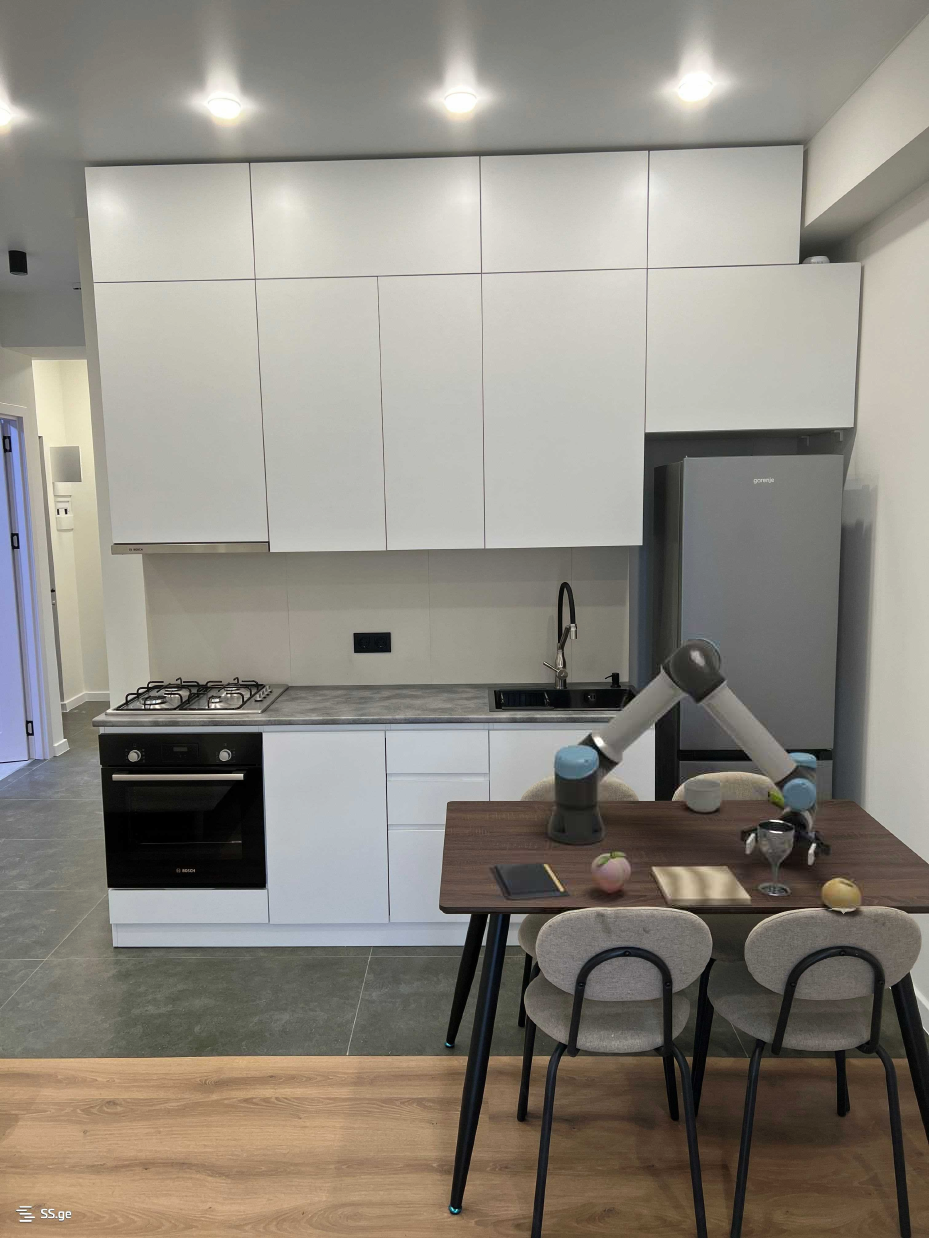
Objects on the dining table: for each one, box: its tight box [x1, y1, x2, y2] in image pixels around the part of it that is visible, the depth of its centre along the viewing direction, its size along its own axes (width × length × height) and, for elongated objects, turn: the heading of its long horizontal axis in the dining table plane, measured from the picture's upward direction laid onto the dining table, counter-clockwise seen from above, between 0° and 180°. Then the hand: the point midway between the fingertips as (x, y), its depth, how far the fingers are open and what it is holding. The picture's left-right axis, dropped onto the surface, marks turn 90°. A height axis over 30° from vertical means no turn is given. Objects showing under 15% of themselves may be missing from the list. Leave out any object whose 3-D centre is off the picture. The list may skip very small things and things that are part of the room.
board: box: [651, 865, 752, 907], centre depth 200 cm, size 18×18×2 cm
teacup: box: [683, 776, 723, 813], centre depth 256 cm, size 14×11×8 cm
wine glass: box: [757, 819, 795, 897], centre depth 198 cm, size 8×8×15 cm
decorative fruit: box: [590, 850, 632, 894], centre depth 198 cm, size 9×8×10 cm
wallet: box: [489, 861, 570, 902], centre depth 205 cm, size 20×2×15 cm
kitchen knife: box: [752, 784, 785, 805], centre depth 264 cm, size 22×1×3 cm, turn 6°
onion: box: [820, 877, 862, 909], centre depth 189 cm, size 8×8×7 cm
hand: (778, 853), depth 199 cm, fingers open, 13 cm apart
